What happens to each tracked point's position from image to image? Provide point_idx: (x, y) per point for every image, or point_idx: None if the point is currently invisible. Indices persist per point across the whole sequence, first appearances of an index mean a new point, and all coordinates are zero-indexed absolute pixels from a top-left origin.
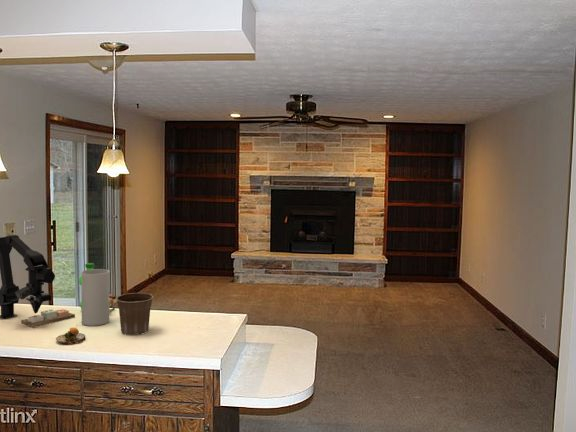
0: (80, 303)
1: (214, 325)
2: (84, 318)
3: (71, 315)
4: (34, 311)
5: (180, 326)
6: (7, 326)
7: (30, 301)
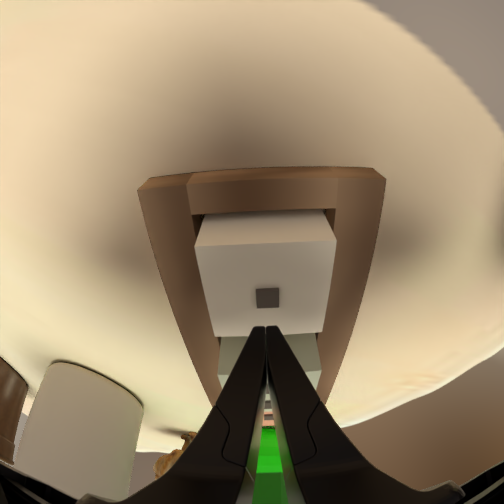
0: (279, 457)
1: (28, 411)
2: (54, 386)
3: (212, 406)
4: (257, 342)
5: (27, 402)
6: (384, 40)
7: (307, 496)
